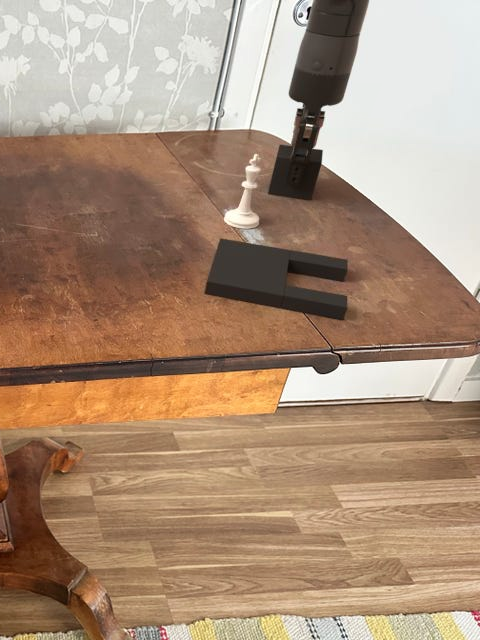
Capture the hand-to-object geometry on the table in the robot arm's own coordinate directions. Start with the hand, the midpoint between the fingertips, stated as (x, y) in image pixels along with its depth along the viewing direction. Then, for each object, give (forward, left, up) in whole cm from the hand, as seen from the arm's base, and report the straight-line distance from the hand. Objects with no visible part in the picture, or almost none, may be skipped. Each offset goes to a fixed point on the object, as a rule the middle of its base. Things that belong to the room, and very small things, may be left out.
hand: (293, 176), depth 110 cm
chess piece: (+6, +14, -2) cm, 15 cm away
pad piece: (0, 0, -2) cm, 2 cm away
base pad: (0, +30, -2) cm, 30 cm away
